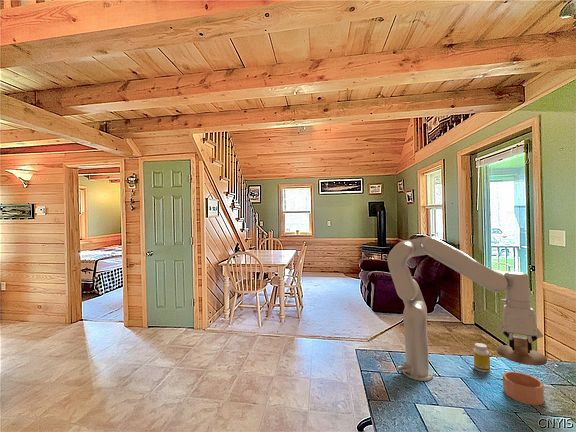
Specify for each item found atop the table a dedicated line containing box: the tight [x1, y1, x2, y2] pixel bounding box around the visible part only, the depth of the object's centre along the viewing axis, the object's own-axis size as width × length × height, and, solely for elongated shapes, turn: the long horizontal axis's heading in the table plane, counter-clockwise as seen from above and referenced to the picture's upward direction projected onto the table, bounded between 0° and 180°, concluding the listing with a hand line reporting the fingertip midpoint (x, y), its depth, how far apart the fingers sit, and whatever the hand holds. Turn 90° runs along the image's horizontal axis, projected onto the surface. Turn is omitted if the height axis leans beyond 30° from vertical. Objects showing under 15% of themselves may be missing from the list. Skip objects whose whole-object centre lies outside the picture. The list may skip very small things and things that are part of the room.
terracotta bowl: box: [502, 370, 545, 406], centre depth 109 cm, size 12×12×6 cm
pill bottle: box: [472, 342, 491, 373], centre depth 129 cm, size 6×6×11 cm
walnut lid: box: [496, 334, 548, 366], centre depth 110 cm, size 15×15×7 cm
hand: (520, 350), depth 110 cm, fingers closed on walnut lid, 4 cm apart
